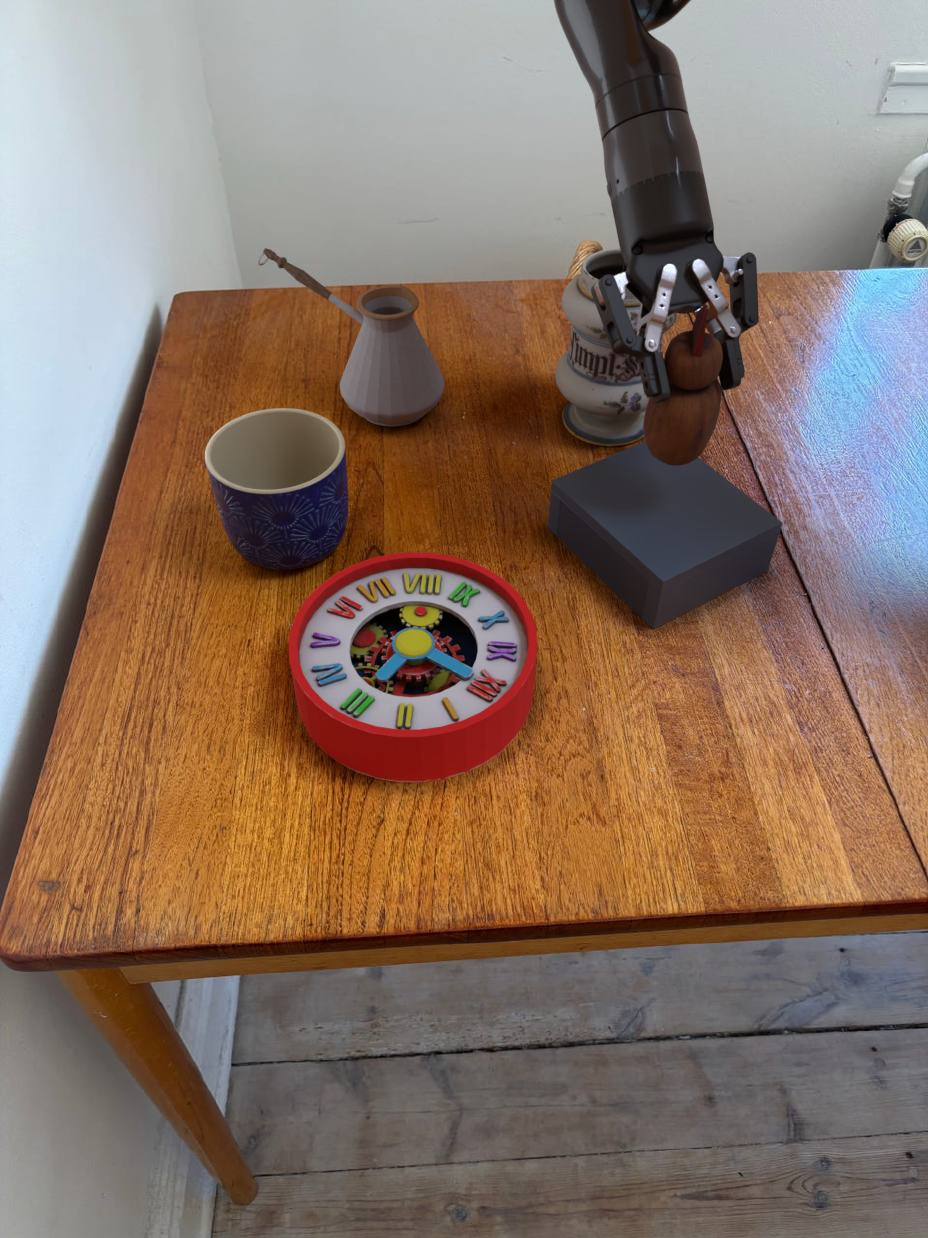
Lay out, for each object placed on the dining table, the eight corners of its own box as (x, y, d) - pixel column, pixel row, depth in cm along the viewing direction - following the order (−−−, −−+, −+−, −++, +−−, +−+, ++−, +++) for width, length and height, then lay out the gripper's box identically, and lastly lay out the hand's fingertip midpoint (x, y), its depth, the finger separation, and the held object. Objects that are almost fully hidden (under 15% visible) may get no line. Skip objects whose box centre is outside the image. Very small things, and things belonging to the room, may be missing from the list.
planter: (312, 600, 92) (298, 508, 84) (199, 560, 95) (175, 468, 87) (377, 518, 100) (370, 427, 92) (270, 484, 103) (254, 394, 95)
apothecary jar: (599, 376, 117) (617, 225, 104) (683, 420, 111) (714, 266, 98) (529, 419, 111) (538, 265, 98) (613, 468, 105) (636, 311, 92)
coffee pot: (463, 394, 114) (463, 270, 103) (412, 449, 107) (407, 322, 96) (306, 345, 121) (291, 224, 110) (248, 394, 114) (226, 269, 103)
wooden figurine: (692, 484, 86) (727, 326, 75) (629, 462, 88) (654, 306, 77) (718, 441, 90) (756, 286, 79) (658, 422, 92) (686, 267, 81)
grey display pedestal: (657, 479, 104) (666, 431, 100) (768, 570, 95) (783, 522, 90) (547, 528, 99) (551, 480, 94) (653, 629, 90) (663, 581, 85)
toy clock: (391, 521, 90) (584, 615, 83) (394, 568, 95) (577, 661, 87) (234, 659, 79) (441, 782, 71) (246, 705, 84) (442, 826, 76)
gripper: (589, 178, 76) (634, 400, 77) (759, 155, 79) (800, 369, 80) (558, 216, 83) (599, 418, 84) (715, 193, 86) (753, 389, 87)
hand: (697, 393), depth 82 cm, fingers closed on wooden figurine, 5 cm apart
